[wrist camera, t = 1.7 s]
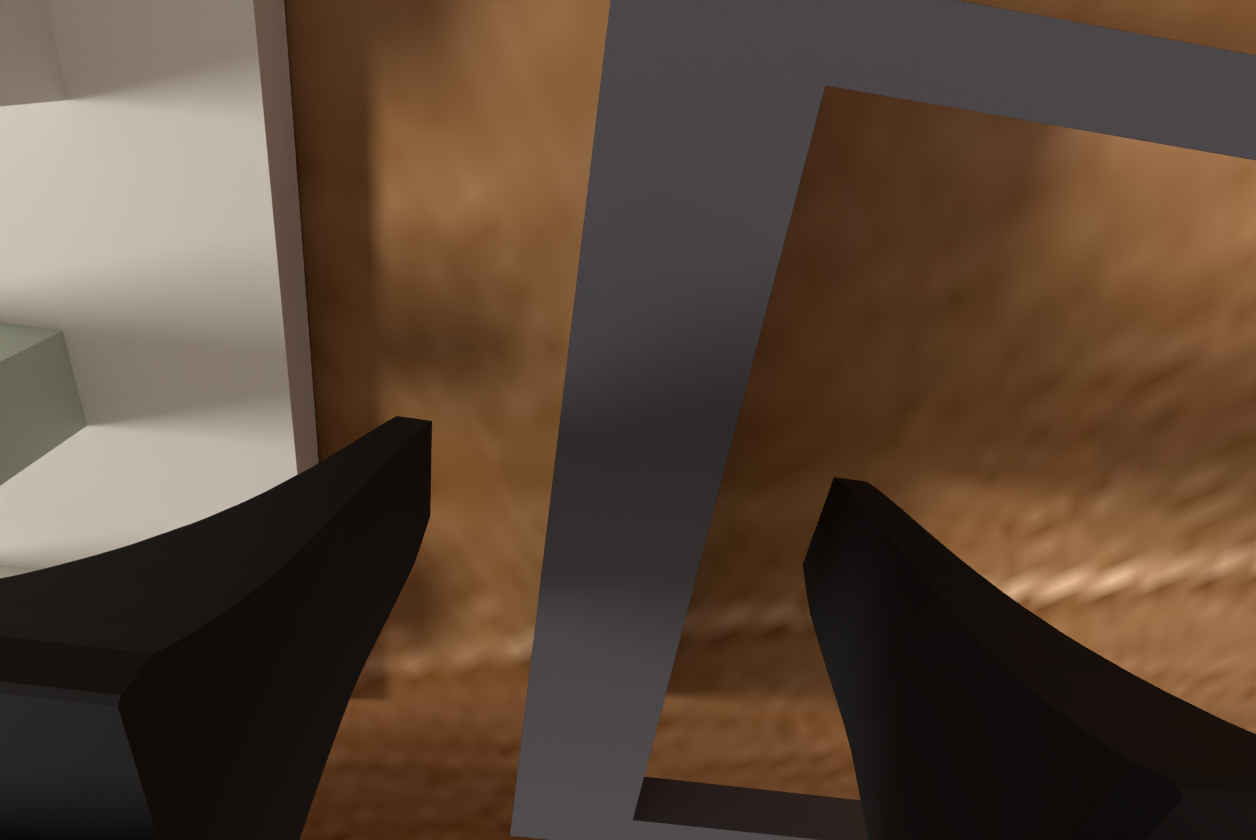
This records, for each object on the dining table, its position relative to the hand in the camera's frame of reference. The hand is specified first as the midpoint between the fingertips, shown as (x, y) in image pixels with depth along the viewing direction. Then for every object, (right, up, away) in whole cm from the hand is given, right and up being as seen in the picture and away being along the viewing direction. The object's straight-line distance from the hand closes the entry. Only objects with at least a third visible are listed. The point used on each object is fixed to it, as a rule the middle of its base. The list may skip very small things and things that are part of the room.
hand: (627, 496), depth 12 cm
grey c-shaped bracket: (+3, +1, +2) cm, 4 cm away
